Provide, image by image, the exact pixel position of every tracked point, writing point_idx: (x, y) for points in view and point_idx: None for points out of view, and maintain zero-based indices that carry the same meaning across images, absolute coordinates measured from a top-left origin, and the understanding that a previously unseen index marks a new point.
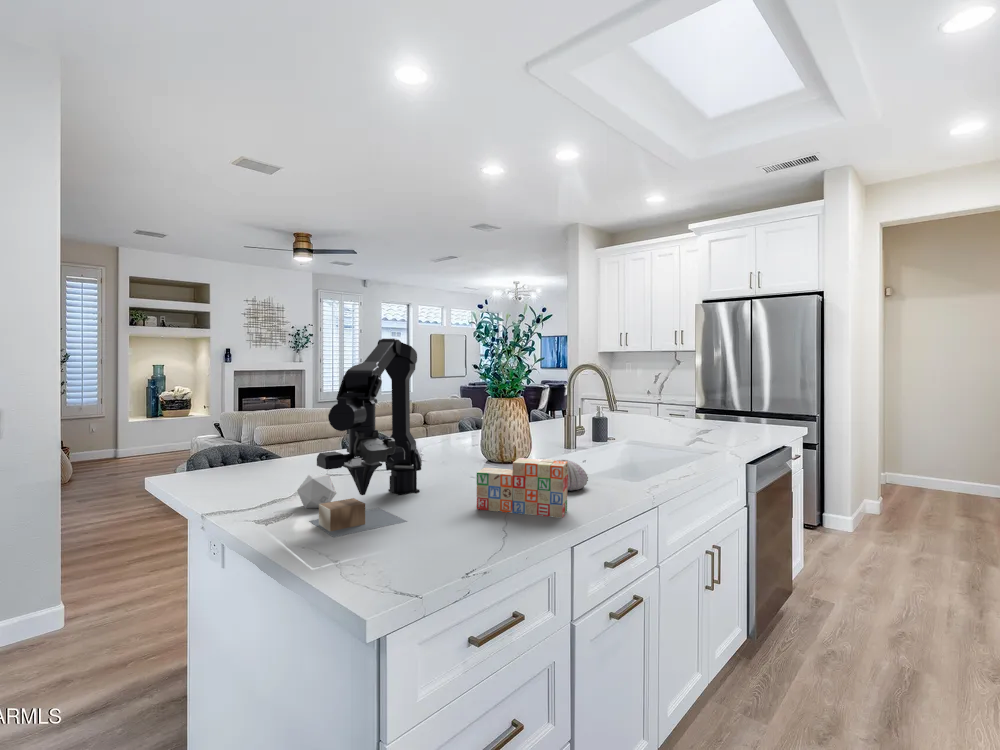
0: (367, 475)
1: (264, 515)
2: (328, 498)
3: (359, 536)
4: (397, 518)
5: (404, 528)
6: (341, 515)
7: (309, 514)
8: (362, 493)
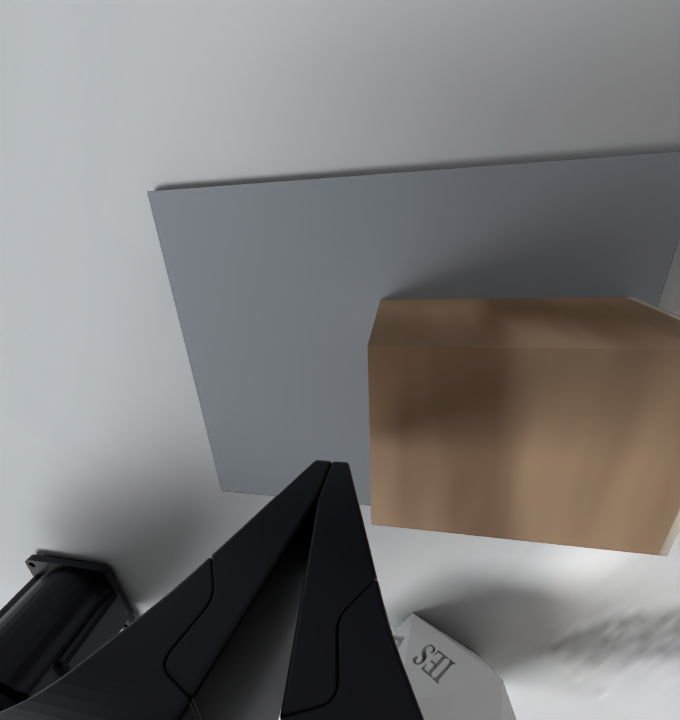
0: (211, 644)
1: (658, 689)
2: (407, 656)
3: (525, 86)
4: (187, 283)
5: (198, 78)
6: (583, 325)
7: (507, 599)
8: (340, 469)
